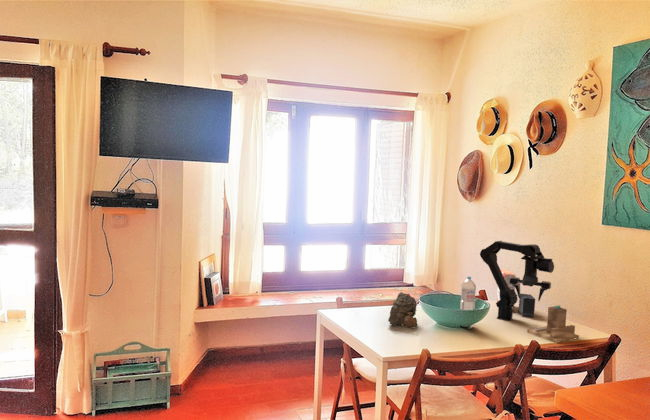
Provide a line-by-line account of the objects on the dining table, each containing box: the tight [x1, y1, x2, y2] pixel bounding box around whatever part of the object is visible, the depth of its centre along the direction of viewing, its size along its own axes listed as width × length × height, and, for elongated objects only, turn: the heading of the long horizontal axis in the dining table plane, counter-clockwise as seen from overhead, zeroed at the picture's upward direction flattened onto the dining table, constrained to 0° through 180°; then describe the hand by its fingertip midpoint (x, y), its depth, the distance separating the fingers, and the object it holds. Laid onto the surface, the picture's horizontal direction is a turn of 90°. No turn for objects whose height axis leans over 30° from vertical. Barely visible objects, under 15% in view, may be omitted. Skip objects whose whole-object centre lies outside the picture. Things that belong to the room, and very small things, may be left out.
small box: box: [517, 293, 536, 318], centre depth 252 cm, size 11×6×10 cm, turn 168°
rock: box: [387, 291, 418, 328], centre depth 226 cm, size 18×14×15 cm
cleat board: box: [526, 324, 580, 343], centre depth 217 cm, size 16×16×6 cm
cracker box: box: [496, 269, 516, 311], centre depth 265 cm, size 14×6×21 cm, turn 174°
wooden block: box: [546, 304, 567, 333], centre depth 216 cm, size 6×6×13 cm
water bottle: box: [459, 276, 477, 329], centre depth 226 cm, size 7×7×25 cm
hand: (529, 299), depth 232 cm, fingers open, 9 cm apart
